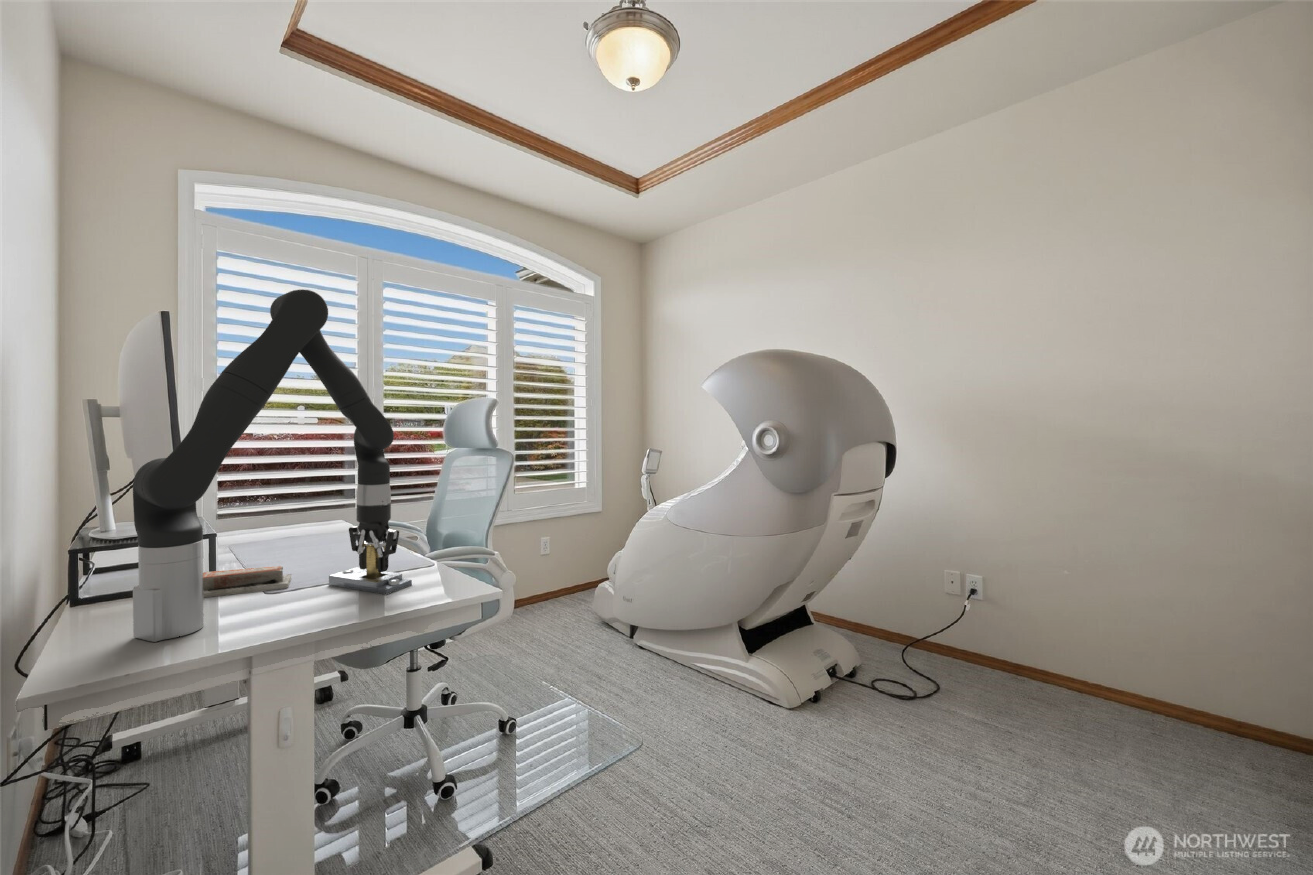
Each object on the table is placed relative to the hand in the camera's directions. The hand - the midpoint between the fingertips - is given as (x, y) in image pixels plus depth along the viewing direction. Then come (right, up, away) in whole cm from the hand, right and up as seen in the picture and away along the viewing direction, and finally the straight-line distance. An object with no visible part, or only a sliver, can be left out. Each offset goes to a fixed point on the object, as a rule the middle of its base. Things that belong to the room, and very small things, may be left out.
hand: (373, 569), depth 135 cm
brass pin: (0, -4, 0) cm, 4 cm away
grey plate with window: (0, -4, 0) cm, 4 cm away
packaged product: (-29, -4, -3) cm, 30 cm away
